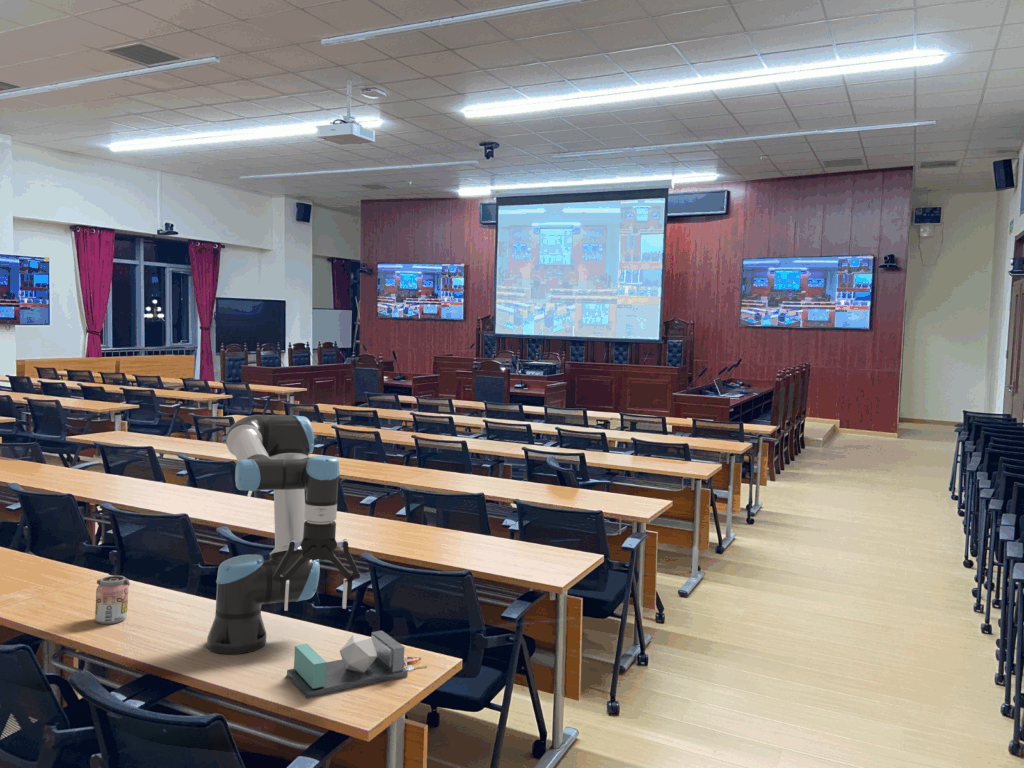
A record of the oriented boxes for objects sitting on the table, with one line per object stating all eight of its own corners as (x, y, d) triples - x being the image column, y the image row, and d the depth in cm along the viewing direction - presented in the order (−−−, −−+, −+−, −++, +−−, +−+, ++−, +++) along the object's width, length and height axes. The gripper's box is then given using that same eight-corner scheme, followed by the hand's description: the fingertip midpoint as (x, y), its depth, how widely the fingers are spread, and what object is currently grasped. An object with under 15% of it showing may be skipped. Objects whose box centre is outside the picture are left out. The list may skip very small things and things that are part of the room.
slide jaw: (293, 668, 183) (295, 645, 183) (307, 665, 185) (308, 643, 185) (312, 688, 172) (314, 664, 172) (326, 685, 174) (328, 661, 174)
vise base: (286, 676, 182) (288, 645, 182) (383, 657, 197) (384, 629, 197) (306, 698, 171) (308, 666, 171) (407, 676, 186) (409, 647, 186)
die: (381, 668, 188) (370, 631, 192) (378, 663, 180) (366, 625, 184) (350, 681, 186) (339, 644, 190) (345, 677, 179) (334, 638, 183)
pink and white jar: (99, 614, 216) (101, 573, 216) (131, 613, 219) (133, 573, 218) (90, 625, 208) (92, 583, 207) (123, 624, 210) (125, 582, 210)
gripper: (265, 524, 171) (260, 615, 172) (374, 524, 178) (369, 611, 179) (266, 517, 178) (261, 604, 179) (371, 517, 185) (366, 601, 186)
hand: (315, 608), depth 179 cm, fingers open, 13 cm apart
